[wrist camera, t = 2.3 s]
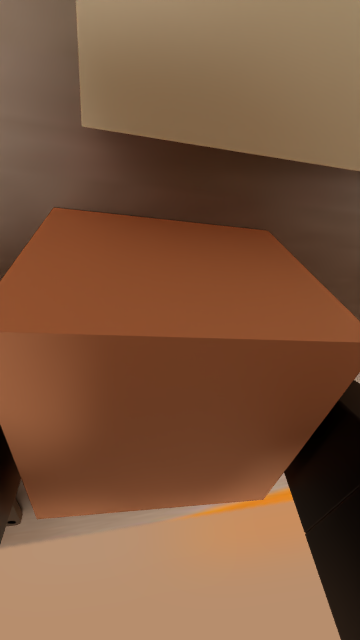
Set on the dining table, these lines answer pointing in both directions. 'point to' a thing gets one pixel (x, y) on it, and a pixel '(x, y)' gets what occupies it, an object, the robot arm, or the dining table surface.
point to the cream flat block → (226, 74)
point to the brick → (163, 362)
